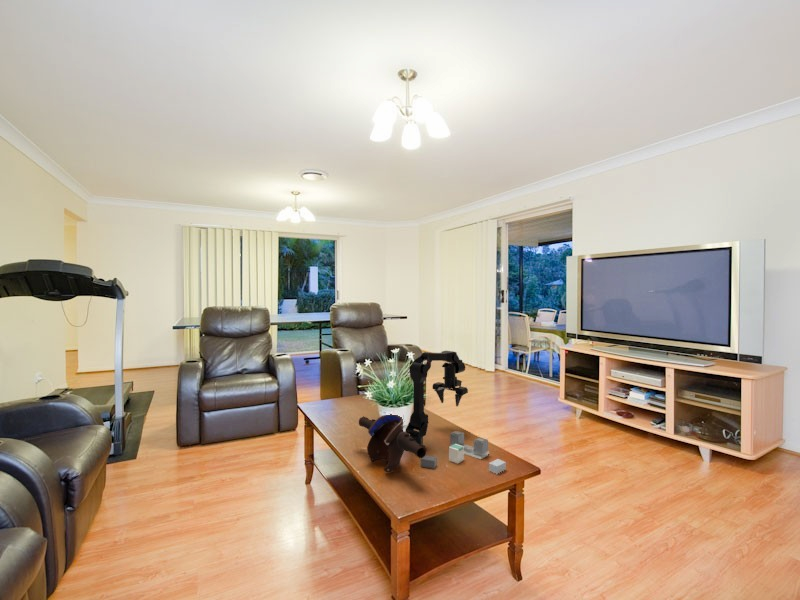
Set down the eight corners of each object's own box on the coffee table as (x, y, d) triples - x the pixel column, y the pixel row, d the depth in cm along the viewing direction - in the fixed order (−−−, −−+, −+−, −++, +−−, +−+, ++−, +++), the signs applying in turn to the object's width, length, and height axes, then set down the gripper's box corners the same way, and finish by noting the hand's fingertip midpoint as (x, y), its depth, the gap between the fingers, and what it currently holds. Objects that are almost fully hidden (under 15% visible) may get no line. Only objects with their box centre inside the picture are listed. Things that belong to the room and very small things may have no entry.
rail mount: (481, 459, 168) (481, 443, 168) (449, 448, 179) (449, 433, 179) (489, 454, 173) (489, 438, 173) (457, 444, 184) (457, 429, 184)
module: (457, 463, 164) (457, 449, 164) (448, 460, 167) (448, 446, 167) (464, 459, 168) (464, 446, 168) (455, 456, 171) (455, 443, 171)
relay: (434, 469, 160) (434, 461, 159) (420, 467, 162) (420, 458, 162) (437, 465, 163) (437, 457, 163) (423, 462, 165) (423, 455, 165)
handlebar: (349, 451, 177) (349, 408, 177) (372, 444, 185) (372, 403, 184) (409, 491, 142) (409, 438, 141) (435, 481, 150) (435, 430, 149)
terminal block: (496, 475, 154) (496, 466, 154) (488, 471, 158) (488, 463, 157) (505, 470, 158) (505, 462, 158) (497, 467, 161) (497, 458, 161)
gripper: (473, 375, 200) (473, 404, 200) (443, 370, 212) (443, 398, 213) (462, 378, 192) (461, 409, 192) (431, 373, 204) (431, 402, 204)
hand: (449, 404), depth 200 cm, fingers open, 9 cm apart
